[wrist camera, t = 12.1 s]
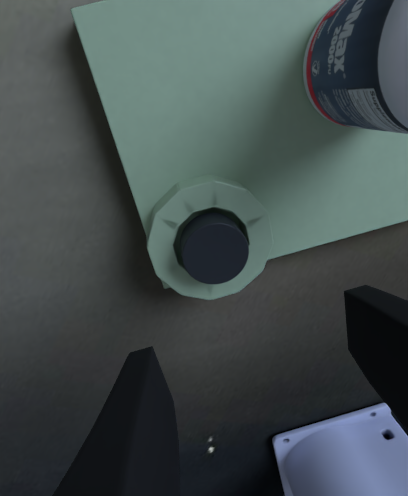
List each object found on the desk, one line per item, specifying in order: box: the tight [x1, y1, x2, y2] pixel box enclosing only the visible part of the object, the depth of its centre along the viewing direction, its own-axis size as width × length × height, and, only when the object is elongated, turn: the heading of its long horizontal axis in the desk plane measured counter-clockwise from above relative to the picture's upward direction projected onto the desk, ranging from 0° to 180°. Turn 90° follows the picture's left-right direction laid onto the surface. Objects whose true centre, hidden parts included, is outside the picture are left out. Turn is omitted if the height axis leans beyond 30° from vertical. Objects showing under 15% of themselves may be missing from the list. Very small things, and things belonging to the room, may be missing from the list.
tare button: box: [180, 213, 249, 284], centre depth 15 cm, size 3×3×2 cm
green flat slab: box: [71, 0, 408, 300], centre depth 16 cm, size 16×13×3 cm
